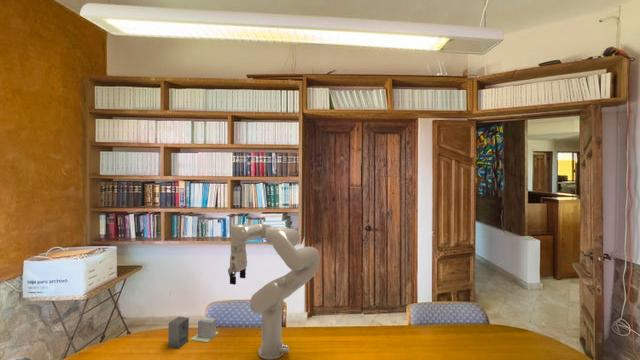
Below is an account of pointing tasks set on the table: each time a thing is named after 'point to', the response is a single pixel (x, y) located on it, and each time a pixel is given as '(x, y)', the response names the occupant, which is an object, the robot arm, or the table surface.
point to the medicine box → (206, 327)
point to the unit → (178, 332)
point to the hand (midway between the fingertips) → (237, 281)
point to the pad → (202, 338)
